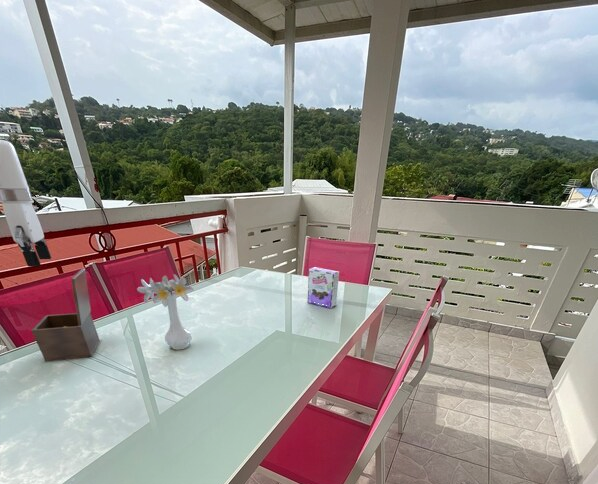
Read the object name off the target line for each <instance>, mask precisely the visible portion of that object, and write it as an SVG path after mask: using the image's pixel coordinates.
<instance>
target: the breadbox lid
mask: <svg viewBox="0 0 598 484" xmlns="http://www.w3.org/2000/svg"><path fill="white" fill-rule="evenodd" d="M70 280H71V286H72V287H71V288H72V294H73V299H74V305H75V313H77V318H78V325H82V324H83V322H84V321H85V319H86V318H87V316H88V315H89V313H90V314H91V313H92V309H91V301H90V294H89V293H90V292H89V287H88V279H87V273H86V268H85V267H81V268H80V270H79V271H77V272H76V273H75V274H74V275H73V276H72V277H71V279H70Z"/></svg>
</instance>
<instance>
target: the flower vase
mask: <svg viewBox="0 0 598 484" xmlns="http://www.w3.org/2000/svg"><path fill="white" fill-rule="evenodd" d="M168 278H169V277H168V276H167V275H163V276H162V278H161V281H158V282H155V281H154V280H153V279H152V277H149V284H148V283H147V282H146V281H145V280H144V279H143V278H141V279H140V283H141V285H142V286H138V287H137V288H136V290H137V292H138V293H140V294H143V295H144V296H143V301H144V302H145V303H148V301H149V299H151V300H152V302H153V304H157V303H160V302H161V304H162V305H163V307H164V308H167V310H168V316H169V327H168V329H167V331H166V333H165V335H164V341H165V343H166V344H167V345H168V346H170V348H171V349H173V350H177V351H178V350H185V349H187V348H188V347H189V345H190V343H191V341H192V340H193V335H192V333H191V332H190V331H189V330H188V329H187V328H185V327H184V325H183V323H182V322H181V319H180V315H179V311H178V306H177V305H178V304H177V298H179V297H181V299H182V300H183V301H185V302H188V301H189V296H188V294H189V293H193V291H194V288H193V287H192V286H188V285H186V284H187V279H186V278H185V277H183V276H182V277H180V278H179V277H178V275H176V274H175V273H174V274H173V279H168ZM154 294H155V295H154Z"/></svg>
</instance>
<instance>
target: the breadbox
mask: <svg viewBox="0 0 598 484" xmlns="http://www.w3.org/2000/svg"><path fill="white" fill-rule="evenodd" d="M64 326H66V327H64ZM31 333H32V335H33V337H34V339H35V342H36V343H37V346H38V348H39V350H40V352H41V354H42V356H43V359H44V361H45V362H53V361H65V360H75V359H84V358H86V359H87V358H92V357H93V355H94V353H95V352H96V349H97V347H98V345H99V343H100V337H99V334H98V332H97V328H96V326H95V323H94V320H93V317H92V314H91V312H90V313H89V315H88V316H87V318H86V319H85V321H84V322H83V324H82V325H78V318H77V312H74V313H59V314H46V315H45V316H43V317H42V318H41V320H40V321H39V322H38V323H37V324H35V326H34V327H33V328H32V329H31Z"/></svg>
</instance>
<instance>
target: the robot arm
mask: <svg viewBox="0 0 598 484" xmlns="http://www.w3.org/2000/svg"><path fill="white" fill-rule="evenodd" d="M34 202H35V201H34V199H33V196H32V193H31V190H30V187H29V185H28V181H27V179H26V176H25V173H24V171H23V168H22V164H21V162H20V159H19V157H18V154H17V150H16V148H15V146H14V145H13V143H11V142H10V141H8V140H4V139H0V203H1V204H2V209H3V213H4V216H5V219H6V223H7V226H8V228H9V232H10V234H11V236H12V239H13V242H15V243H16V244H17V246H18V247H19V249H20V251H21V253H22V255H23V257H24V261H25V263H26V265H27V267H41V266H42V264H41V261H40V260H52V255H51V253H50V250H49V247H48V244H47V241H46V239H45V234H44V231H43V228H42V225H41V222H40V220H39V217H38V214H37V212H36V210H35V208H34V206H33V204H34Z"/></svg>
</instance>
